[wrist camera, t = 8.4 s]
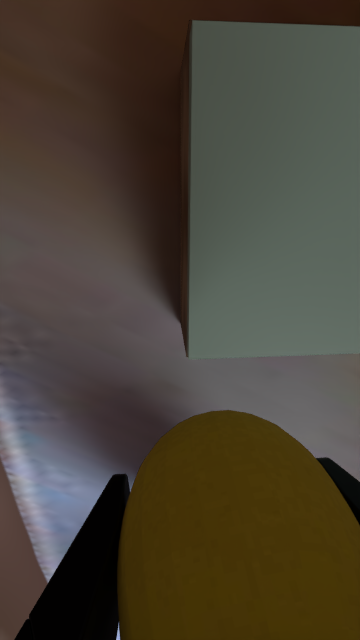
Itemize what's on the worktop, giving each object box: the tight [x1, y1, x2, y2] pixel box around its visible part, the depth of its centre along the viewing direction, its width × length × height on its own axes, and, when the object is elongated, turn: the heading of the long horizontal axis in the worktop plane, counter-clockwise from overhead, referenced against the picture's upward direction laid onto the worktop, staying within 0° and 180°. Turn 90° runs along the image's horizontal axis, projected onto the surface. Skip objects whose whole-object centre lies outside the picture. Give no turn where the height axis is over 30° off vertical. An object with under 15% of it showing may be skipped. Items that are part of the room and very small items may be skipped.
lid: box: [187, 20, 360, 360], centre depth 13 cm, size 13×13×1 cm
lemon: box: [117, 410, 360, 640], centre depth 7 cm, size 6×6×8 cm
